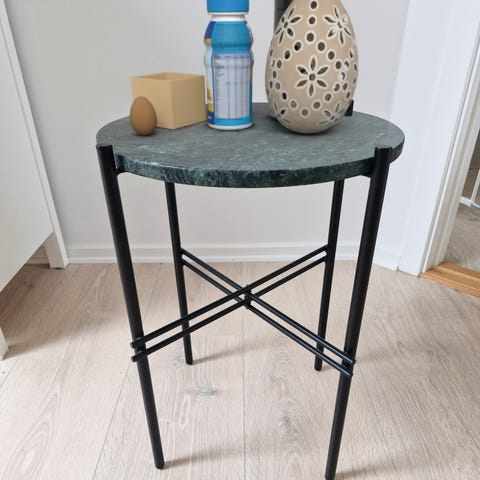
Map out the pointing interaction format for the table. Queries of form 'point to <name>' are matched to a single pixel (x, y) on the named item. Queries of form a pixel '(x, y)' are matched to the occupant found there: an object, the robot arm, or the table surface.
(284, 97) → the robot arm
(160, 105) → the open box
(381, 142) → the table surface
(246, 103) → the beverage bottle
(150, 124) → the egg
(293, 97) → the ornament
